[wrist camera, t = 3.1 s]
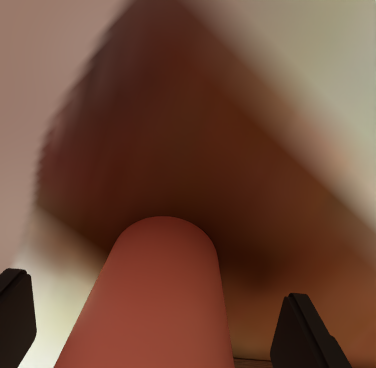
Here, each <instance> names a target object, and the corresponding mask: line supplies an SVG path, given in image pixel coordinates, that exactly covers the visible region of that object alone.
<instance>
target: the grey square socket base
mask: <svg viewBox="0 0 376 368" xmlns="http://www.w3.org/2000/svg"><path fill="white" fill-rule="evenodd" d="M233 360H234V366H235V368H273V366H272V363H271V362H270V361H258V360H246V359H234V358H233Z"/></svg>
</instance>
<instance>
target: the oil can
mask: <svg viewBox="0 0 376 368" xmlns="http://www.w3.org/2000/svg"><path fill="white" fill-rule="evenodd" d="M54 368H235V366H234V360H233V353H232V347H231V340H230V334H229V327H228V321H227V314H226V308H225V301H224V295H223V288H222V282H221V275H220V269H219V262H218V256H217V252H216V249H215V247H214V245H213V243H212V241H211V240H210V238H209V237H208V236H207V234H205V233H204V232H203V231H202V230H201V229H200V228H199V227H197V226H196V225H194V224H192V223H190V222H188V221H186V220H183V219H180V218H176V217H170V216H155V217H150V218H145V219H142V220H140V221H138V222H136V223H134V224H132V225H130V226H129V227H128V228H126V229H125V230H124V231H123V232H122V233H121V234H120V236H119V237H118V238H117V240H116V242H115V244H114V246H113V248H112V250H111V252H110V254H109V256H108V258H107V260H106V262H105V264H104V266H103V268H102V270H101V272H100V274H99V276H98V278H97V280H96V282H95V284H94V286H93V288H92V290H91V292H90V295H89V297H88V299H87V301H86V303H85V305H84V307H83V309H82V311H81V313H80V315H79V317H78V319H77V321H76V323H75V325H74V327H73V329H72V331H71V333H70V335H69V337H68V339H67V341H66V343H65V345H64V347H63V349H62V351H61V354H60V356H59V358H58V360H57V362H56V364H55V366H54Z"/></svg>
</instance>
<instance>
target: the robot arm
mask: <svg viewBox="0 0 376 368" xmlns="http://www.w3.org/2000/svg"><path fill="white" fill-rule="evenodd" d="M36 333H37V329H36V319H35V310H34V301H33V291H32V282H31V276H30V275H29V274H27V272H26V270H23V269H11V268H8V269H6V270H4V271H3V273H1V274H0V368H18V366H19V364H20V363H21V361H22V359H23V358H24V356H25V355H26V353H27V351H28V350H29V348H30V347H31V345H32V343H33V342H34V340H35V337H36ZM270 358H271V363H272V366H273V368H352V367H351V365H350V363H349V361H348V360H347V358H346V356H345V354H344V353H343V351H342V349H341V347H340V346H339V344H338V342H337V341H336V339H335V338H334V337H333V336H331V335H330V334H329V332H328V330H327V328H326V327H325V325H324V323H323V321H322V320H321V318H320V316H319V314H318V312H317V311H316V309H315V307H314V305H313V304H312V302H311V300H310V298H309V297H308V295H306V294H298V293H290V294H289V296H288V297H284V300H283V303H282V307H281V311H280V315H279V319H278V323H277V327H276V330H275V334H274V338H273V342H272V346H271V350H270Z"/></svg>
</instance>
